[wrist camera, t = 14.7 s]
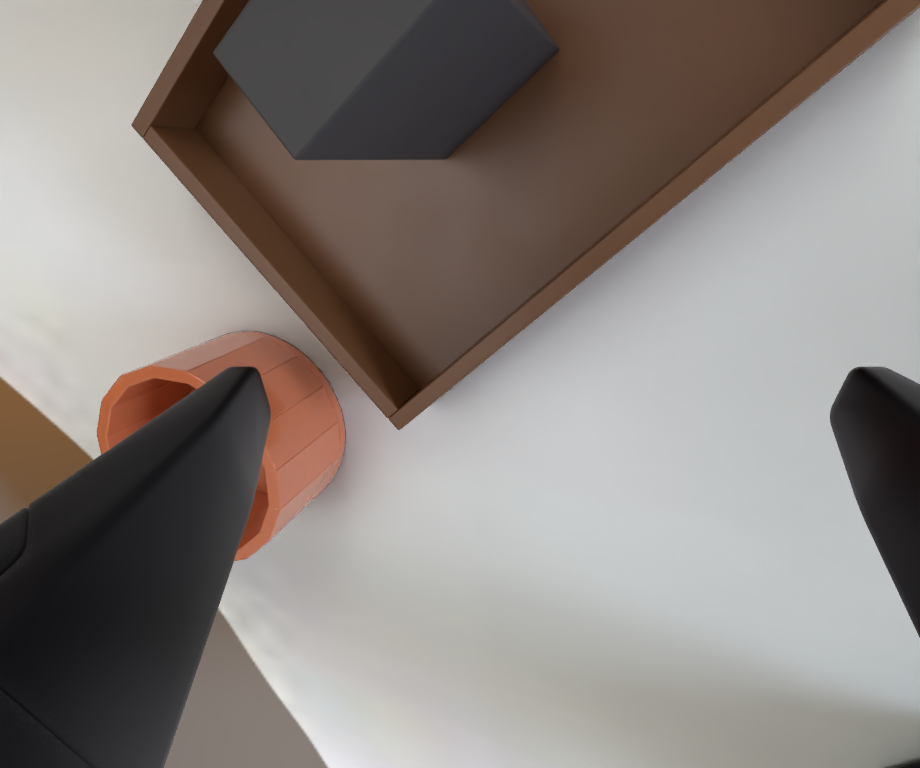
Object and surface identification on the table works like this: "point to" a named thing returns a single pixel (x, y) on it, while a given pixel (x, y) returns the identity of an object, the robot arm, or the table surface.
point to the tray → (496, 173)
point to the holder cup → (290, 431)
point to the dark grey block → (381, 71)
